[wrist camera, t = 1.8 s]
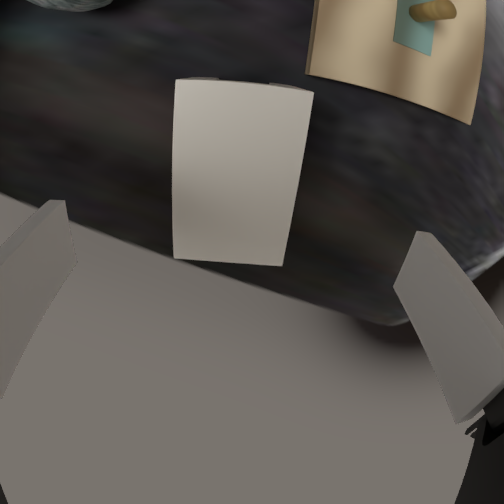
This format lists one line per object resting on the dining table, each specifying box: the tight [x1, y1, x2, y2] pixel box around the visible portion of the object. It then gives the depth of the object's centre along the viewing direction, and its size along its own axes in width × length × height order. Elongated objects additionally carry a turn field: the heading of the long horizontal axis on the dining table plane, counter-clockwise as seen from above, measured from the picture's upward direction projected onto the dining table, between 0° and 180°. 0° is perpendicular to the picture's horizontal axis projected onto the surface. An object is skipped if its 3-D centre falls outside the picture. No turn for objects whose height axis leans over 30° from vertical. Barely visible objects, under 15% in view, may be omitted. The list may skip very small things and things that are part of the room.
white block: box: [172, 77, 314, 266], centre depth 18 cm, size 6×10×7 cm, turn 174°
